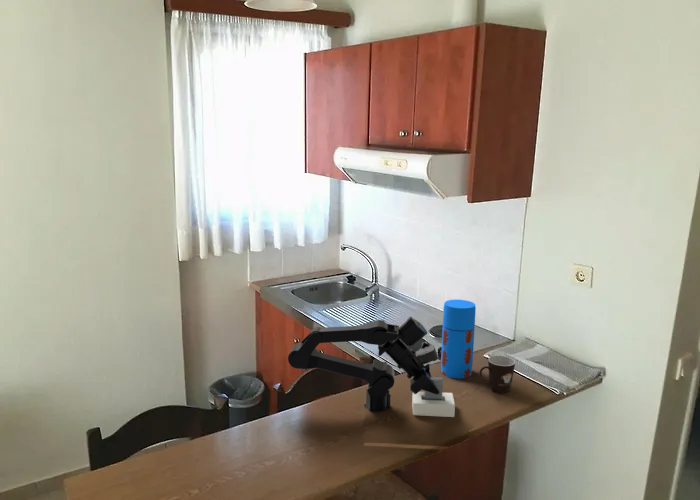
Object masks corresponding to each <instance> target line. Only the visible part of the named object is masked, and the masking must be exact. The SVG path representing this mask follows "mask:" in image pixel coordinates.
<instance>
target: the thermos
mask: <svg viewBox="0 0 700 500" xmlns="http://www.w3.org/2000/svg"><path fill="white" fill-rule="evenodd" d="M442 313H443V315H442V333H441V352H440V353H441V355H440V356H441V359H440V371H441V374H442V375H444V376H445V377H447V378H453V379H467V378H469V377H471V376H472V371H473V370H472V369H473V361H474V359H473V358H474V344H475V343H474V342H475V325H476V304H475V303H474V302H473V301H470V300H466V299H448V300H445V301H444V304H443V310H442Z"/></svg>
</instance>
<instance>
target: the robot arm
mask: <svg viewBox="0 0 700 500" xmlns="http://www.w3.org/2000/svg"><path fill="white" fill-rule="evenodd" d="M427 334H428V331H427V329H426V328H425V326H424V325H423V323H421V322H420V321H418V320H417V319H415V318H413V317H412V316H409V317H408V318H407V320H406V321H405V322H404V323H402V324H401V325H397V324H391V323H387V322H386V321H385V320H382V319H377V320H373V321H369V322H368V321H367V322H366V323H362V324H360V325H348V326H347V325H346V326H331V327H330V326H329V327H325V326H324V327H319V326H316V327H314V328H313V329H312V330H311V331H310V333H309V334H308V335H306V336H305V337H304V338H303V339H302V340H301V341H300V342H298V343H295V344H294V345H292V347H291V350H290V352H289V354H288V356H287V362H288V363H289V365H290V367H291V368H294V369H297V370H312V369H319V370H322V371H323V370H324V371H327V372H330V373H335V374H340V375H343V376H348V377H351V378H355V379H359V380H362V381H364V382H366V383H367V389H366V390H365V392H366V393H365V394H366V395H365V401H366V402H365V404H363V407H364V408H365V409H367V410H368V411H369V412H379V413H380V412H384V411H386V410H387V409H389V408H391V396H392V395H391V394H390V389H392V388H393V387H394V384H395V370H394V367H392V365H391V364H389V363H388V362H387V361H381V360H378V359H376V358H375V359H373V363H364V362H363V363H362V362H359V361H355V360H351V359H346V358H342V357H339V356H335V355H330V354H327V353H323V352H320V351H319V350H318V349H316V348H317V347H318V346H319V344H322V343H323V344H324V343H325V344H326V343H347V342H348V343H350V342H362V343H365V344H368V345H375V346H377V350H378V354H377V355H378V356H379V357H381V356H382V355H384V353H386V354H387V355H388V356H389V358H391V359H392V360H393V361H394V363H396V365H397V368H398V369H399V370H403V372H404V373H405V374H406V377H407V378H408V380H410V381H409V390H410V391H411V392H412V394H413V393H414V394H417V393H418V392H421V390H422V391H424V392H425V391H428V392H431V393H434V394H436V395H438V394H439V393H440V392H439V390H438V389H437V387H436V386H435V385H434V383H433V382H432V380H431V377H433V376H432V373H431V371H430V369H431V368H430V363H431V362H435V361H438V360H439V357H438V353H437V350H436V348H435V346H434V344H432V343H431V344H430V343H429V342H428V341H424V342H421V347H420V348H419V349H418V350H415V349H414V348H409V347H413V346H415V345H416V344H417V343H419V341H421V340H422V339H423V338H424V337H425V336H427ZM411 378H412V379H411Z"/></svg>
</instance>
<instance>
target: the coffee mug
mask: <svg viewBox="0 0 700 500" xmlns="http://www.w3.org/2000/svg"><path fill="white" fill-rule="evenodd" d="M487 363H488V366H487V365H485V366H483V367H481V368H480V370H479V376H480V377H481V378H482V379H483V380H484V381H486V382H488V384H489V388H490V389H491V392H492V393H495V394H500V395H503V394H504V395H505V394H509V393H510V392H511V387H512V381H513V377H514V372H515V367H516V360H515V359H514V358H512V357H509V356H505V355H491V356H489V357H488V358H487ZM485 369H488V379H489V380H488V379H487V378H485V377H484V376H483V374H482V372H483V371H484V370H485Z"/></svg>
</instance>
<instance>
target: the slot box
mask: <svg viewBox="0 0 700 500" xmlns="http://www.w3.org/2000/svg"><path fill="white" fill-rule="evenodd" d="M411 398H412V399H411V401H412V402H411V405H412V416H420V417H421V416H424V417H425V416H427V417H444V418H447V417H448V418H450V417H451V418H455V415H456V413H455V411H456V410H455V409H456V405H455V404H456V403H455V400H454V395H453V392H442V401H438V400H424V399H425V391H419V392H418V393H417V394H414V393H413V392H412V396H411Z"/></svg>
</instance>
